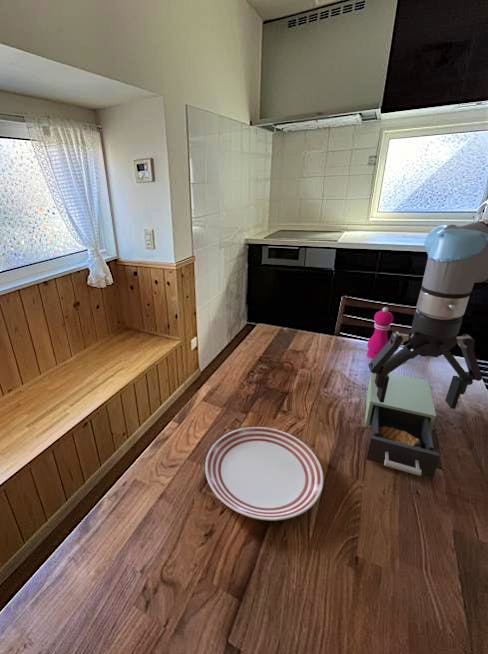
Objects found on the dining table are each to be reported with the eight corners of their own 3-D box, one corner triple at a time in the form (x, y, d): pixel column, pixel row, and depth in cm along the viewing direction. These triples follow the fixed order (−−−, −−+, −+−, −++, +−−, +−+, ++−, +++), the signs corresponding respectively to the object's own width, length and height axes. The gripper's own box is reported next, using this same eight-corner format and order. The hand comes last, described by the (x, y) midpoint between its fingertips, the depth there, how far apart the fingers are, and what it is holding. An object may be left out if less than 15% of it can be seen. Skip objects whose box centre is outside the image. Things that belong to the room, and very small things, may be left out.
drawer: (435, 493, 74) (443, 470, 71) (365, 472, 80) (370, 450, 77) (425, 433, 89) (431, 413, 86) (368, 419, 95) (372, 400, 92)
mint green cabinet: (428, 442, 88) (436, 416, 84) (364, 426, 94) (370, 401, 91) (421, 404, 101) (428, 380, 98) (366, 392, 108) (371, 369, 104)
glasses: (293, 373, 120) (294, 361, 118) (281, 393, 110) (282, 380, 108) (259, 364, 127) (259, 352, 125) (244, 382, 117) (244, 369, 115)
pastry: (370, 438, 87) (373, 427, 86) (383, 427, 91) (386, 416, 89) (409, 461, 80) (412, 449, 79) (422, 448, 84) (425, 436, 82)
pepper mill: (370, 349, 132) (379, 302, 123) (390, 356, 126) (401, 307, 118) (361, 356, 127) (370, 307, 119) (382, 363, 122) (392, 313, 114)
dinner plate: (182, 472, 84) (182, 462, 82) (254, 420, 99) (254, 411, 98) (273, 559, 64) (274, 548, 63) (344, 477, 80) (346, 467, 78)
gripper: (372, 318, 64) (356, 406, 73) (529, 323, 58) (491, 419, 67) (363, 303, 71) (349, 386, 79) (503, 307, 65) (471, 396, 74)
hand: (414, 401), depth 73 cm, fingers open, 13 cm apart
